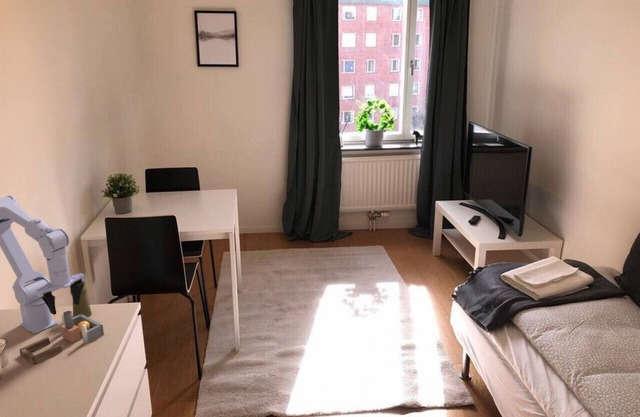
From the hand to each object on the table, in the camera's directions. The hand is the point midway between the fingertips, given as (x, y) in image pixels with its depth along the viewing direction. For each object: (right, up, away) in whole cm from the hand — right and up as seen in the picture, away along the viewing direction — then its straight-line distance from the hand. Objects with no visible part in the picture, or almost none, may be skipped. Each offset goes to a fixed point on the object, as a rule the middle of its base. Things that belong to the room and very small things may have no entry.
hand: (65, 308), depth 171 cm
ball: (+4, -7, +4) cm, 9 cm away
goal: (+4, -9, +5) cm, 11 cm away
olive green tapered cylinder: (-1, -5, +16) cm, 17 cm away
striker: (+1, -10, +2) cm, 10 cm away
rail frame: (-4, -12, -6) cm, 14 cm away
